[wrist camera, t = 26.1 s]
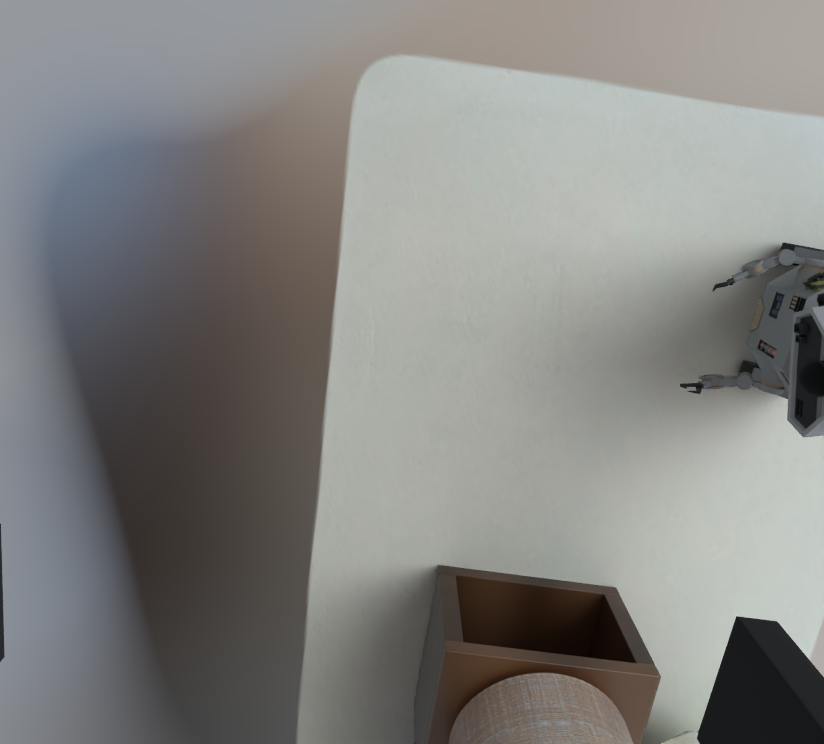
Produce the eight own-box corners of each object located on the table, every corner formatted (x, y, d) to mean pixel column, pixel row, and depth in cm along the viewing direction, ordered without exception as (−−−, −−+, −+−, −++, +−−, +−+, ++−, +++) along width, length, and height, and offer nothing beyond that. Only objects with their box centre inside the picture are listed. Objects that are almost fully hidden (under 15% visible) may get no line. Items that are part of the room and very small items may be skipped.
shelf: (413, 701, 51) (414, 808, 42) (438, 565, 48) (445, 650, 39) (580, 721, 52) (615, 830, 43) (616, 587, 48) (661, 676, 40)
